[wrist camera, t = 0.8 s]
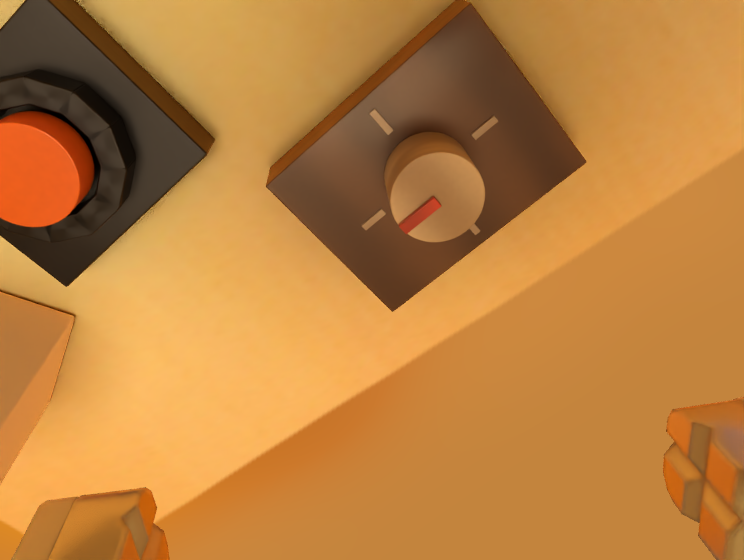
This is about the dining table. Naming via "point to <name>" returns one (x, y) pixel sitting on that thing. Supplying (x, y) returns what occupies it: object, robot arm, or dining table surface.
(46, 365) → the milk carton
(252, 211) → the dining table surface
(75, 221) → the button base
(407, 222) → the dial knob
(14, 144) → the round orange button
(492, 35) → the dial panel
